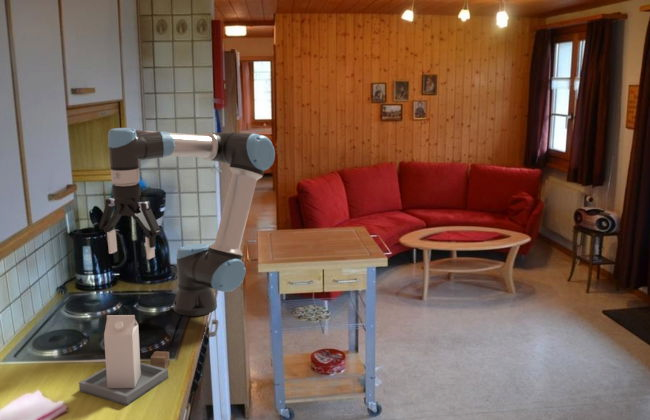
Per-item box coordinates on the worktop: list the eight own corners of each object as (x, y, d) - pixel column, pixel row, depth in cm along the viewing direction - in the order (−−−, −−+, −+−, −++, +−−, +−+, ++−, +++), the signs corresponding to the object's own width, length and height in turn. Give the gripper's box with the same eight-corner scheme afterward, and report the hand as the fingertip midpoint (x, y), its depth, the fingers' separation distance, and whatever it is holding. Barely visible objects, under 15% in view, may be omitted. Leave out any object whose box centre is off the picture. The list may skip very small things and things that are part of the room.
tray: (123, 365, 173) (122, 357, 172) (168, 377, 166) (168, 369, 166) (79, 391, 158) (78, 382, 158) (127, 405, 152) (126, 396, 151)
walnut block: (155, 364, 174) (155, 351, 173) (169, 364, 174) (169, 351, 173) (151, 370, 170) (150, 357, 170) (165, 371, 170) (164, 358, 169)
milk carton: (114, 375, 165) (110, 310, 161) (141, 375, 166) (137, 310, 162) (107, 388, 159) (102, 320, 154) (134, 388, 159) (131, 320, 155)
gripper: (81, 182, 172) (88, 253, 177) (153, 189, 163) (159, 264, 168) (100, 178, 179) (106, 246, 184) (170, 184, 170) (175, 256, 175)
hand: (131, 255), depth 176 cm, fingers open, 13 cm apart
